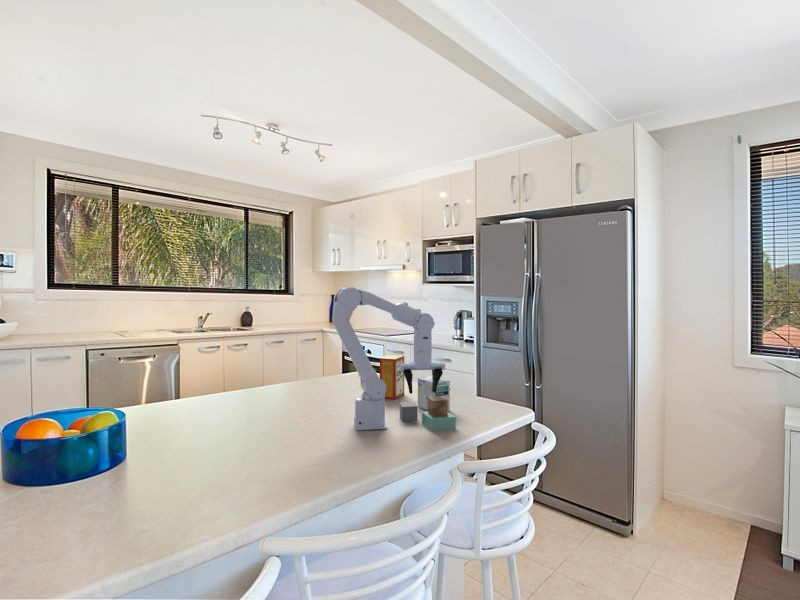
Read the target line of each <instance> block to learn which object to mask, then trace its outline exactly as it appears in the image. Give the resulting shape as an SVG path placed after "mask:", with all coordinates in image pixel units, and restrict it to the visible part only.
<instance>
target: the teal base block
mask: <svg viewBox="0 0 800 600" xmlns="http://www.w3.org/2000/svg"><path fill="white" fill-rule="evenodd" d="M456 419H457V417H456V416H455V415H454V414H452V413H450V412H449V411H448V416H443V417H431V415H430V414H429V413H428V410H426V411H421V424H422V423H423V424H424V425H425V428H426V429H428V430H429V429H430V430H431V431H430V430H429V431H430V432H437V431H436V430H439V431H446V429H449V430H456V429H457V428H456V425H457V424H456V423H457V420H456ZM423 424H422V425H423Z"/></svg>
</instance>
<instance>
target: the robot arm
mask: <svg viewBox="0 0 800 600" xmlns="http://www.w3.org/2000/svg"><path fill="white" fill-rule="evenodd" d="M358 306H371V307H374V308H376V309H378V310H381V311H384V312H387V313H388V314H391V317H392V320H394V321H396V322H400V323H402V324H404V325H406V326H409V327H412V328H413V362H410V363H404V364H400V371H403V373H404V379H406V380H405V382H407V383H406V384H407V386H408V393H409V394H410V395H412V394H413V376H414V374H413V371H431V376H432V379H433V382H432V391H433V393H436V389H437V385H438V382H439V380H440V378H441V377H442V376H443V373H444V372H443V371H445V370H446V363H445V362H432V361H433V360H432V355H433V354H432V352H433V351H432V349H433V348H432V346H433V344H432V341H433V339H432V331H433V329H434V326H435V324H436V322H434V321H435V320H434V318H433V316H432V315H431V314H429V313H426V312H422V310H421V309H420V308H415V307H413V306H410V305H409V303H407V302H405V301H404V302H397V303H396V304H395V303H393V302H391V301H389V300H386V299H384V298H383V297H381V296H378V295H376V294H374V293H372V292H370V291H366V290H362V289H357V288H356V287H353V286H346V287H345V286H344V287H342V288H340V289H339V290H338V291H337V292H336V294H335V296H334V298H333V308H332V315H331V316H332V317H331V322H332V324H333V326H334V328H335V329H336V332H337V334H338V336H339V338H340V340H341V342H342V344H343V347H345V350H346V352H347V355H349V357H350V359H351V361H352V363H353V365H354V368H355V370H356V371H357V373H358V377H359V379H360V388H361V389H362V390H363V393H362V394H361V397H356V398H354V417H353V422H354V426H355V431H365V430H366V431H367V430H387V429H388V425H387V422H386V421H385V420H386V416H385V415H386V404H385V403H386V402H385V401H386V399H385V393H386V389H387V388H386V384H385V382H384V381H383V380H381V379H380V376H379V375H378V373H377V372H376V370H375V369H374V367H373V366H372V363H371V361H370V360H369V357H368V355H367V353H366V352H365V350H364V347H363V346H362V344H361V342H360V339H359V338H358V335H357V334H356V332H355V329H354V327H353V326H352V324H351V322H350V321H351V319H352V318H351V317H352V315H353V313H354V311H355V310H356V309H357V308H358ZM441 379H442V378H441Z"/></svg>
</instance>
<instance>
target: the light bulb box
mask: <svg viewBox="0 0 800 600" xmlns="http://www.w3.org/2000/svg"><path fill="white" fill-rule="evenodd" d="M432 382H433V379H432V375H428V376H421V377H417V408H420V409H423V410H425V409H426V411H428V396H444V397H445V398H446V399H447V400H448V412H449V410H450V411H451V409H450V408H451V407H450V405H451V403H450V400H451V399H450V398H451V396H450V395H451V391H450V388H451V387H450V385H451V384H450V383H451V382H450V380H449V379H448V380H447V379H445V378H444V379H443V378H440V380H439V382H438V385H437V389H436V393H433V391H432Z"/></svg>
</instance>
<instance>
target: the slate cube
mask: <svg viewBox="0 0 800 600" xmlns="http://www.w3.org/2000/svg"><path fill="white" fill-rule="evenodd" d="M399 420H400V421H401V423H412V422H411V421H417V422H418V404H417V403H416V402H415V401H412V402H399Z"/></svg>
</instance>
